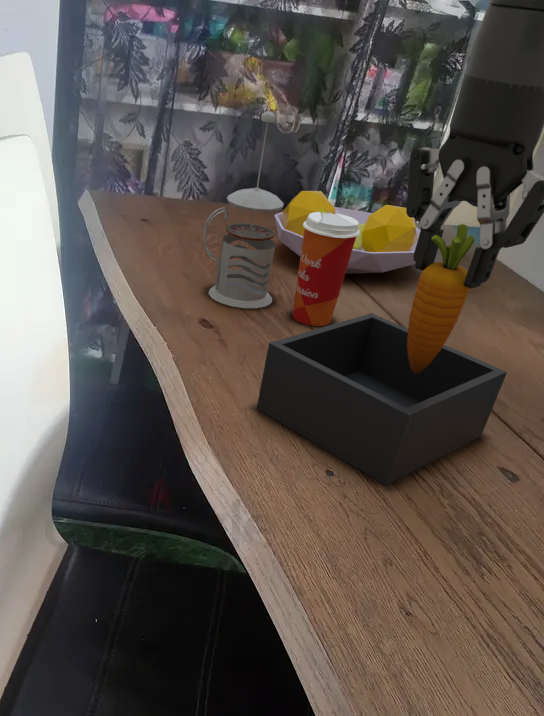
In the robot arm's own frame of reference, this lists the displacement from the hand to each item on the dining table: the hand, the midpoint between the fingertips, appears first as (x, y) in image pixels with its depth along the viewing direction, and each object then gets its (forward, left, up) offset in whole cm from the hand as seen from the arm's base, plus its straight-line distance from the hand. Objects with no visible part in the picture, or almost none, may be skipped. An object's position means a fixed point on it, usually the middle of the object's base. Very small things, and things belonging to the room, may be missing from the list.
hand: (446, 276), depth 71 cm
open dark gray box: (+1, -3, -18) cm, 18 cm away
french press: (-13, -39, -18) cm, 45 cm away
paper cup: (-17, -27, -18) cm, 37 cm away
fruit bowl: (-42, -42, -18) cm, 62 cm away
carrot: (0, 0, -11) cm, 11 cm away
